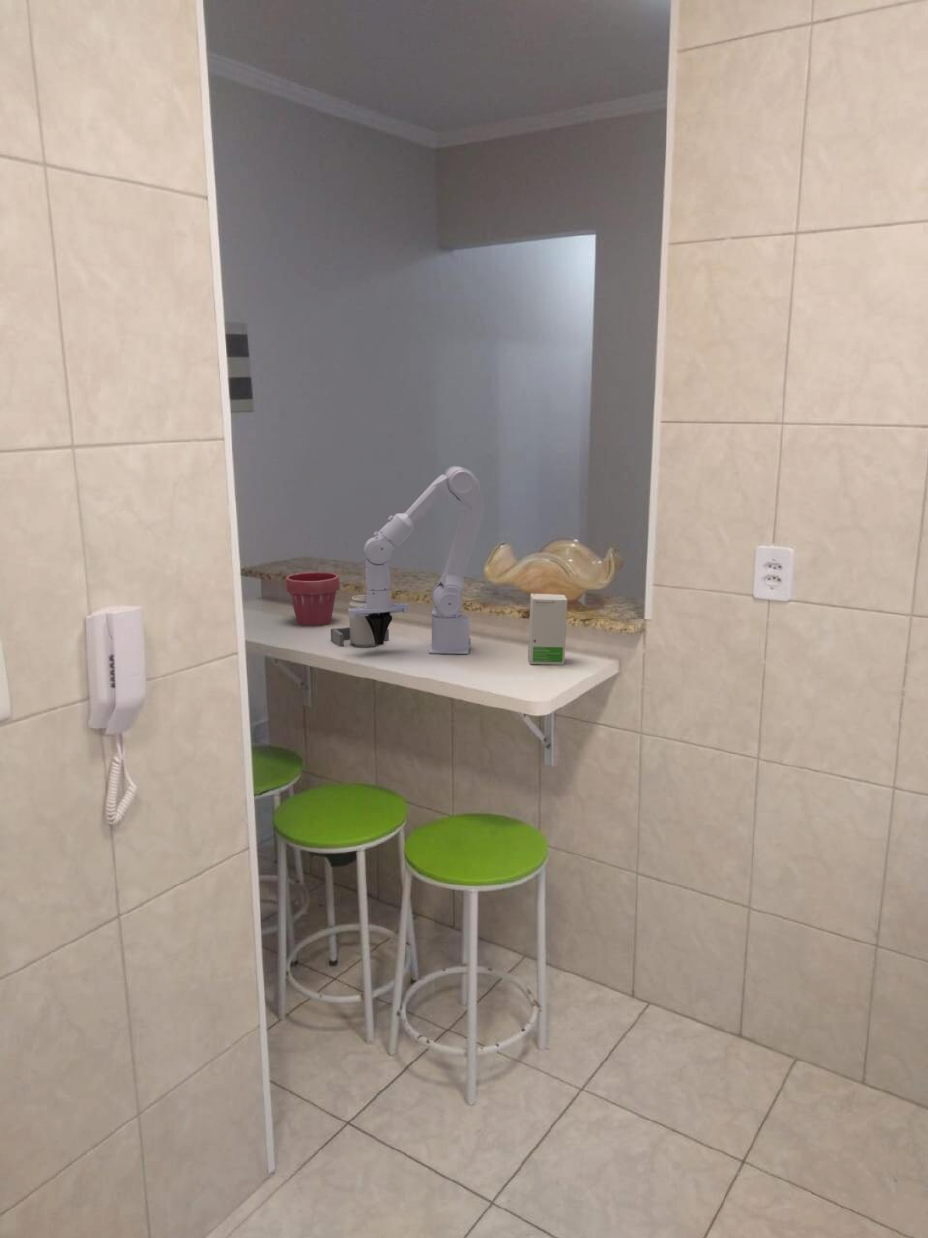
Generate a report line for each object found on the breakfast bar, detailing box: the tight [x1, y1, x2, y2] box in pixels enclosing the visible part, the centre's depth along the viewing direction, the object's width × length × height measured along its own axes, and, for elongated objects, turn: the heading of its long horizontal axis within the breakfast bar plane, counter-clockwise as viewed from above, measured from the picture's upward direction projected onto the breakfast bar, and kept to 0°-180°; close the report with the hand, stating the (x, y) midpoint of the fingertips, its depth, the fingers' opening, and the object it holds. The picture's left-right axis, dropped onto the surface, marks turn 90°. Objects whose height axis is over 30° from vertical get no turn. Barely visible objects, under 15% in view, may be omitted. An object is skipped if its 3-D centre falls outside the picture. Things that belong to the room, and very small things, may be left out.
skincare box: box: [527, 593, 569, 666], centre depth 220 cm, size 8×7×16 cm
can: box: [348, 594, 378, 648], centre depth 234 cm, size 8×8×12 cm
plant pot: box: [285, 571, 340, 627], centre depth 256 cm, size 14×14×13 cm
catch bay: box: [330, 626, 390, 647], centre depth 238 cm, size 6×13×3 cm, turn 117°
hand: (379, 644), depth 227 cm, fingers closed
